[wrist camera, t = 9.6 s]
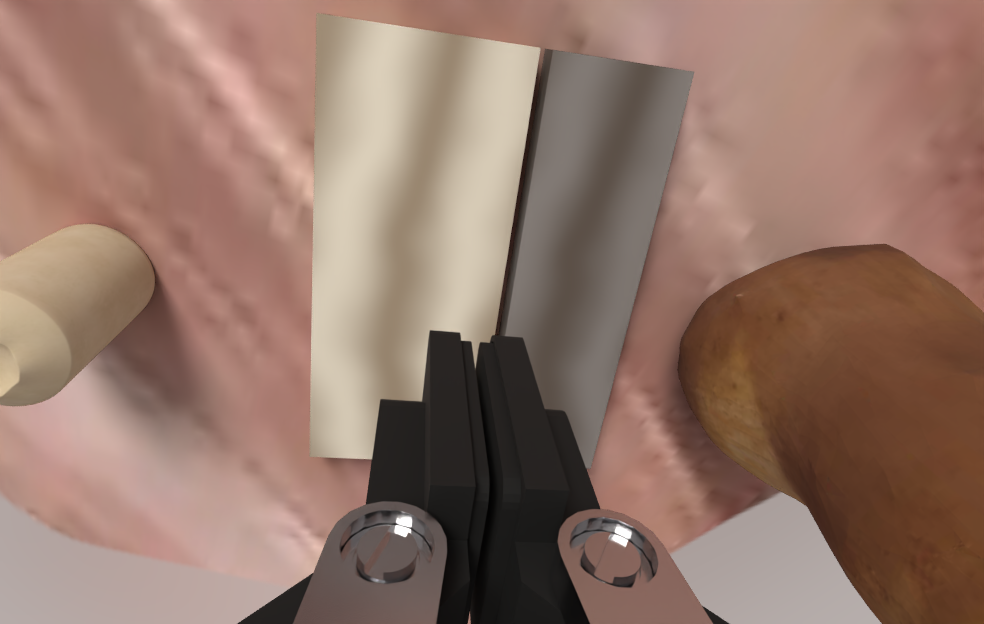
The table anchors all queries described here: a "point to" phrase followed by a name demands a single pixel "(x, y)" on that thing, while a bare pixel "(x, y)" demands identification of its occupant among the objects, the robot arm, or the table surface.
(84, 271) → the candle
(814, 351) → the butternut squash
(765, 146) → the table surface
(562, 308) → the floor board
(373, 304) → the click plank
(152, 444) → the table surface
